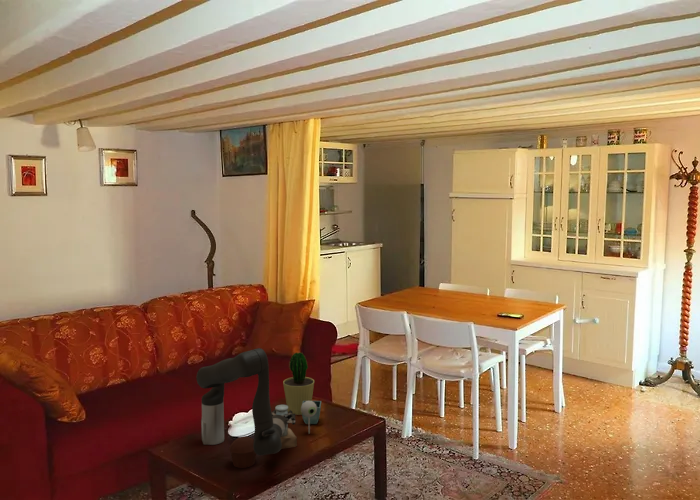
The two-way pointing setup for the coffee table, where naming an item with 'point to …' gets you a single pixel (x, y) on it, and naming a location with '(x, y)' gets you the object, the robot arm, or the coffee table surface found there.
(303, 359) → the potted cactus
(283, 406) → the vase
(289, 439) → the plinth
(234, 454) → the muffin
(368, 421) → the coffee table surface
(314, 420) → the flower pot
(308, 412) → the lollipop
